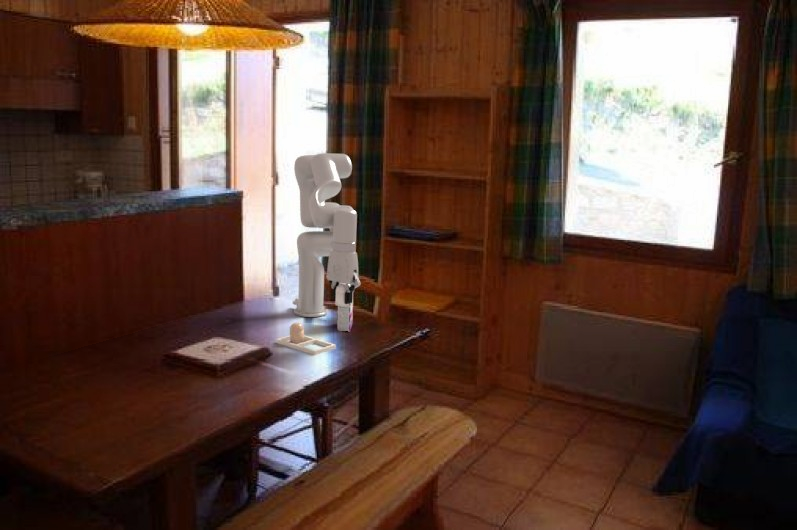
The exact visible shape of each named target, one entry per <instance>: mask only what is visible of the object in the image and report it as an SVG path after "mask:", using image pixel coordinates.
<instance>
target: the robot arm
mask: <svg viewBox="0 0 797 530" xmlns="http://www.w3.org/2000/svg"><path fill="white" fill-rule="evenodd" d="M293 168H294V176H295V180H296V182H297V185H298V189H299V208H300V209H299V215H300V222H301V225H302V227H305V228H309V229H310V228H312V229H313V228H316V229H329V230H328V231H326V230H324V231H323V230H322V231H321V230H316V231H315V230H314V231H313V230H311V231H309V230H308V231H305V232H302V233H300V234H299V235H298V236H297V239H296V245H297V247H296V248H297V254H298V255H297V256H298V298H295V299H294V300H293V301H292V305H294V306H296V307H295V308H294V310H293V311H294V315H296V316H300V317H305V318H319V317H323V316H326V315H327V314H328V309H327V308H325V307H324V293H325V292H324V289H325V286H324V285H325V278H326V280H327V281H328V283H329V284H330V285H331V286H330V287H331V289H332V301H333V302H335V298H336V288H337V286H338V285H340V283H344V284H345V285H346V291H347V292H345V302H344V303H345V304H350V303H352V299H353V300H354V292H355V290H356V289H357V288H358V287H360V286H361V284H362V283H361V281H360V278H359V260H358V253H357V252H356V249H357V223H358V220H357V219H358V214H357V213H358V212H357V211H356V210H354V208H353V207H352V206H351V205H346V204H345V205H340V204H339V203H337V202H327V201H326V200H329V199H331V198H333V197H335V196H337V195H338V194H339V193H340V191H341V189H342V182H341V180H342V179H347V178H349V177H350V176H351V175H352V170H353V164H352V161H351V158H350V156H348V155H347V154H345V153H330V152H328V153H327V152H325V153H324V152H322V153H317V154H306V155H305V154H304V155H300V156H298V157H297V158H296V159H295V161H294V167H293ZM324 201H326V202H324ZM320 257H328V261H327V269H326V270H327V272H326V273H327V274H326V275H325V267H324V265H323V264H322V262H321V261H320V260H319V258H320ZM349 284H350V287H349Z"/></svg>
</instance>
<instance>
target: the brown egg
mask: <svg viewBox="0 0 797 530" xmlns="http://www.w3.org/2000/svg"><path fill="white" fill-rule="evenodd" d="M304 335H305V328H304V325H303V324H302V323H300V322H293V323H292V324H291V325H290V327H289V336H290V340H289V342H290V343H293V344H299V343H303V342H305V340H304Z"/></svg>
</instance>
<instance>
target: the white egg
mask: <svg viewBox="0 0 797 530" xmlns="http://www.w3.org/2000/svg"><path fill="white" fill-rule="evenodd" d="M345 292H347V291H346V285H345V284H340V285H338V286H337V288H336V298H335V301H334V304H335V306H348V305H349V304H345V303H344V302H345Z"/></svg>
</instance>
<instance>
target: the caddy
mask: <svg viewBox="0 0 797 530" xmlns="http://www.w3.org/2000/svg"><path fill="white" fill-rule="evenodd" d="M275 343H276V344H278V345H282V346H285V347H289V348H291V349H295V350H298V351H300V352H304V353H307V354H310V355H314V356H317V355H320V354H322V353H325V352H329V351H333V350H336V349H337V345H336V344H335V343H332V342H328V341H325V340H321V339H317V338H314V337H312V336H307V335H305V334H304V342H303V343H299V344H293V343H290V335H287V336H283V337H280V338H276V342H275ZM314 344H317V345H320V346H323V347H321V348H318V349H312V348H308V346H311V345H314Z"/></svg>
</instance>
